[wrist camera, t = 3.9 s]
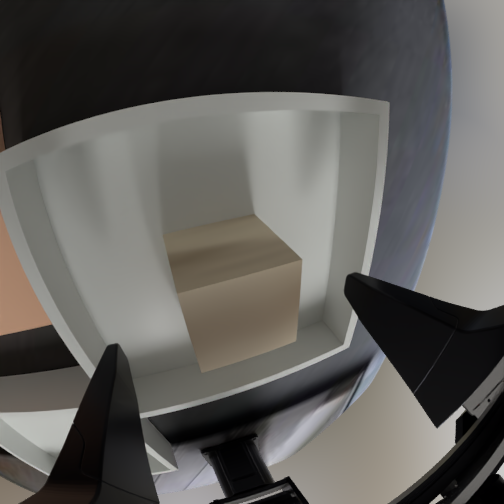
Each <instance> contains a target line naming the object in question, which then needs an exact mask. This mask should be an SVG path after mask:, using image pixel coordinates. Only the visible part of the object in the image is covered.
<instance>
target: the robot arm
mask: <svg viewBox="0 0 504 504" xmlns="http://www.w3.org/2000/svg"><path fill="white" fill-rule="evenodd" d="M344 295H345V297H346V298H347V300H348V302H349V303H350V305H351V306H352V308H353V310H354V311H355V313H356V315H357V316H358V318H359V320H360V321H361V323H362V324H363V325H364V327H365V328H366V330H367V331H368V332H369V333H370V335H371V336H372V337H373V339H374V340H375V342H376V343H377V344H378V346H379V347H380V348H381V350H382V351H383V352H384V354H385V355H386V356H387V358H388V359H389V361H390V362H391V363H392V364H393V366H394V367H395V369H396V370H397V372H398V373H399V374H400V376H401V377H402V379H403V380H404V381H405V383H406V384H407V386H408V387H409V389H410V390H411V391H412V393H413V394H414V396H415V397H416V399H417V400H418V402H419V403H420V405H421V406H422V408H423V409H424V411H425V412H426V414H427V415H428V417H429V418H430V419H431V421H432V423H433V424H434V426H436V428H438V427H439V426H441V425H442V424H443V423H444V422H445V421H446V420H447V419H448V418H449V417H450V416H451V415H452V414H454V412H456V411H457V410H458V409H459V407H461V406H463V407H464V408H465V409H466V410H465V411H464V412H463V413H462V415H461V416H460V417H459V418H458V419H457V420H456V436H455V443H456V445H455V446H454V447H453V448H452V449H451V450H450V451H449V452H448V453H447V454H446V455H445V456H444V457H443V458H442V459H441V460H440V461H439V462H438V463H437V464H436V465H435V466H434V467H433V468H432V469H431V470H429V471H428V472H427V473H426V474H425V475H424V476H423V477H422V478H421V479H419V480H418V481H417V482H416V483H414V484H413V485H412V486H411V487H409V488H408V489H407V490H406V491H405V492H403V493H402V494H401V495H399V496H398V497H397V498H395V499H394V500H393V501H391V502H390V503H388V504H429V503H430V502H431V501H433V500H434V499H435V498H436V497H437V496H438V495H439V494H441V496H442V497H443V498H444V499H442V500H440V501H439V502H437V503H436V504H504V480H503V478H502V477H501V476H500V475H499V474H496V473H497V471H498V470H499V468H500V467H501V466H502V464H503V463H504V305H502V306H500V307H497V308H494V309H491V310H486V311H478V310H474V309H470V308H466V307H462V306H459V305H455V304H451V303H448V302H445V301H441V300H438V299H435V298H432V297H429V296H426V295H424V294H421V293H417V292H415V291H412V290H409V289H406V288H403V287H400V286H397V285H394V284H391V283H388V282H385V281H382V280H379V279H376V278H373V277H370V276H367V275H364V274H361V273H358V272H353V273H350V274H348V275H347V276H346V280H345V285H344ZM259 451H260V448H259V438H258V436H257V434H255V435H251V436H248V437H245V438H243V439H240V440H236V441H233V442H230V443H227V444H224V445H220V446H217V447H213V448H210V449H206V450H203V451H201V454H202V456H203V457H204V458H205V459H206V461H207V462H208V463H209V464H210V465H211V466H213V469H214V471H215V474H216V476H217V479H218V481H219V483H220V486H221V488H222V490H223V493H224V495H225V497H226V498H224V499H220V500H214V502H211V503H209V504H239V503H243V502H246V501H249V500H252V499H255V498H258V497H261V496H264V495H267V494H270V493H273V492H275V491H278V490H281V489H282V490H283V492H280V493H278V494H275V495H272V496H269V497H267V498H264V499H261V500H258V501H255V502H252V503H248V504H309V503H308V501H307V500H306V499H305V497H304V496H303V495H302V493H301V492H300V491H299V489H298V488H297V487H296V485H295V484H294V482H293V481H292V480H291V479H290V477H289V476H288V477H285V478H284V479H282V480H280V481H277V482H275V481H274V480H273V478H272V476H271V474H270V472H269V470H268V468H267V466H266V464H265V463H264V461H263V459H262V457H261V455H260V453H259ZM19 504H159V499H158V496H157V492H156V489H155V485H154V481H153V477H152V473H151V469H150V465H149V461H148V456H147V452H146V447H145V442H144V436H143V431H142V425H141V419H140V413H139V406H138V400H137V396H136V392H135V388H134V384H133V379H132V375H131V371H130V366H129V362H128V359H127V357H126V355H125V353H124V351H123V350H122V348H121V346H120V345H119V344H118V343H114V344H109V345H107V347H106V349H105V351H104V353H103V355H102V357H101V359H100V361H99V363H98V365H97V367H96V369H95V372H94V374H93V376H92V378H91V380H90V383H89V385H88V387H87V389H86V391H85V394H84V396H83V398H82V401H81V403H80V405H79V408H78V410H77V413H76V415H75V418H74V420H73V423H72V425H71V428H70V430H69V433H68V435H67V438H66V440H65V442H64V445H63V447H62V449H61V451H60V453H59V456H58V458H57V460H56V462H55V464H54V466H53V468H52V470H51V472H50V475H49V477H48V479H47V481H46V483H45V484H44V486H43V487H42V488H41V490H39V491H38V492H37V493H36V494H34V495H32V496H31V497H29V498H27V499H26V500H24V501H23V502H21V503H19Z"/></svg>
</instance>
